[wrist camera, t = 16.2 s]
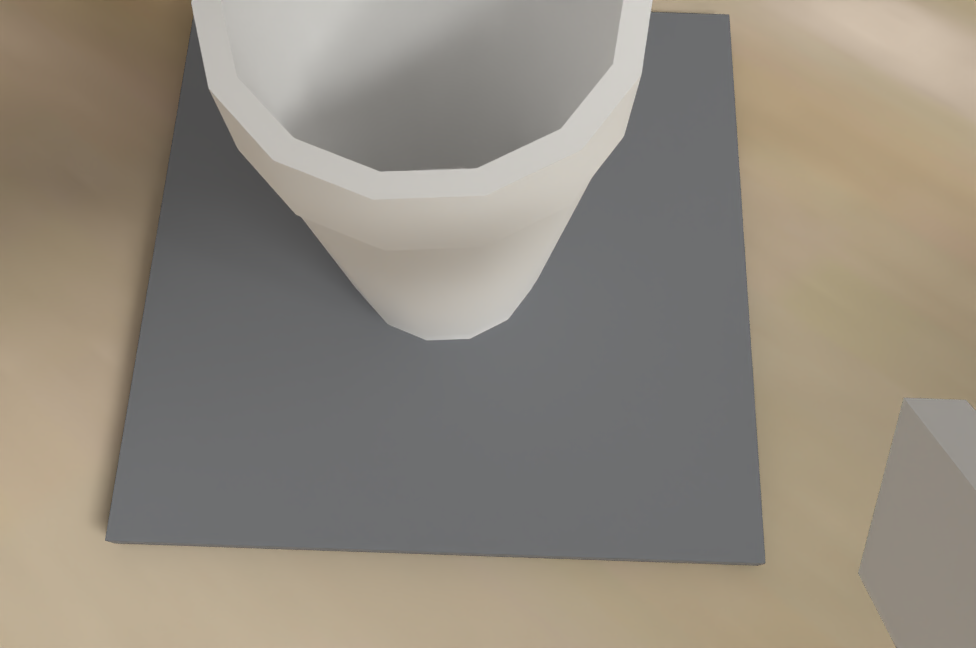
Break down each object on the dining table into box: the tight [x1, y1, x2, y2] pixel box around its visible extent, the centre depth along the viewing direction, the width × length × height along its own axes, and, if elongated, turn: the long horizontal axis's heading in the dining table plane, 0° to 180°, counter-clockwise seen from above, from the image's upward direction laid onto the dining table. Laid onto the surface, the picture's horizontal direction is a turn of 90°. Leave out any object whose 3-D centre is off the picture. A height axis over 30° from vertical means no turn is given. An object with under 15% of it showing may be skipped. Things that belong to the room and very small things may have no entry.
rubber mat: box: [105, 12, 765, 566], centre depth 32 cm, size 20×20×1 cm
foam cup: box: [191, 0, 652, 340], centre depth 25 cm, size 10×9×13 cm
